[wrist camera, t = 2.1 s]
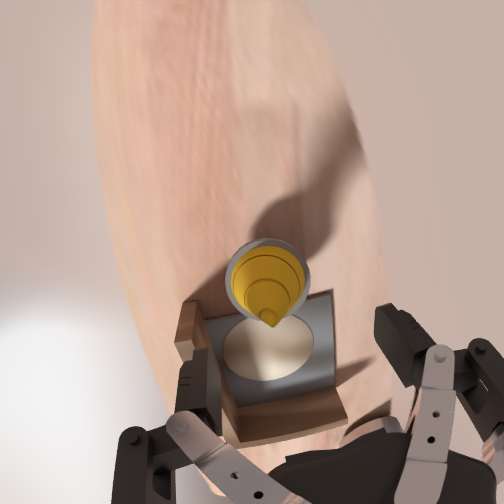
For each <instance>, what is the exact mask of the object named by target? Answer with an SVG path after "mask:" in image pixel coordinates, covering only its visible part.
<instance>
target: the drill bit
mask: <svg viewBox="0 0 504 504" xmlns="http://www.w3.org/2000/svg"><path fill="white" fill-rule="evenodd" d="M225 285H226V291H227V294H228V297H229V299H230V301H231V303H232V304H233V305H234V306H235V308H236V309H237V310H238V311H240V312H241V313H242V314H244V315H245V316H247V317H249V318H251V319H255V320H258V321H263V322H264V323H266V324H267V325H269V326H270V327H272V328H274V327H275V326H276V325H277V324H278V323H279V322H280V321H281V320H282V319H283V318H286V317H288V316H290V315H291V314H293V313H294V312H296V311H297V310H298V309H299V308H300V307H301V305H302V304H303V303H304V301H305V300H306V297H307V295H308V293H309V289H310V272H309V268H308V265H307V263H306V261H305V259H304V258H303V257H302V255H301V254H300V252H299V251H298V250H297V249H296V248H295V247H294V246H292V245H291V244H289V243H287V242H286V241H283V240H280V239H276V238H260V239H255V240H253V241H250V242H248V243H246V244H245V245H243V246H242V247H241V248H239V250H238V251H237V252H236V253H235V254H234V256H233V257H232V259H231V261H230V263H229V265H228V268H227V271H226V277H225Z"/></svg>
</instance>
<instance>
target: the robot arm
mask: <svg viewBox="0 0 504 504" xmlns="http://www.w3.org/2000/svg"><path fill="white" fill-rule="evenodd" d="M374 337H375V340H376V342H377V344H378V345H379V347H380V349H381V350H382V352H383V353H384V355H385V356H386V358H387V359H388V361H389V362H390V364H391V365H392V367H393V369H394V370H395V372H396V373H397V375H398V376H399V378H400V380H401V381H402V383H403V385H404V386H405V388H407V387H409V386H411V385H414V386H415V388H416V389H415V392H414V396H413V401H412V405H411V410H410V414H409V418H408V422H407V425H406V428H405V431H403V429H402V427H401V425H400V423H399V422H398V420H397V418H395V417H392V416H388V417H382V418H378V419H375V420H372V421H370V422H367V423H365V424H363V425H361V426H359V427H358V428H356V429H354V430H353V431H351V432H350V433H349V434H347V435H346V436H345V437H344V438H343V439H342V441H341V442H340V445H339V449H331V450H314V451H307V452H303V453H299V454H294V455H290V456H285V459H286V462H285V463H283V464H281V465H279V466H278V467H276V468H274V469H273V470H272V471H270V472H269V473H268V474H266V473H264V472H263V471H262V470H261V469H259V468H258V467H257V466H256V465H254V464H253V463H252V462H251V461H249V460H248V459H247V458H246V457H244V456H243V455H242V454H241V453H240V452H239V451H237V450H236V449H235V448H234V447H233V446H231V445H230V444H229V443H227V442H226V443H225V442H224V441H222V440H221V439H220V438H219V437H218V436H223V432H222V404H221V377H220V372H219V368H218V366H217V363H216V361H215V358H214V356H213V353H212V350H211V348H210V347H209V346H208V347H202V348H196V349H194V350H193V357H192V360H188V361H185V362H184V363H183V365H182V367H181V368H180V372H179V380H178V387H177V396H176V404H175V412H174V414H173V415H172V416H171V417H170V418H169V419H168V420H167V422H166V424H165V425H164V426H161V427H159V428H156V429H153V430H150V431H146V430H145V429H144V428H142V427H138V426H134V427H130V428H128V429H126V430H125V431H123V432H122V434H121V436H120V438H119V442H118V449H117V457H116V463H115V471H114V480H113V490H112V500H111V504H176V486H175V485H176V484H175V469H178V468H181V467H184V466H187V465H190V464H193V463H194V464H195V465H196V466H197V467H198V468H199V469H200V470H201V471H202V472H203V473H204V474H205V475H206V476H207V477H208V479H209V480H210V481H211V482H212V483H213V484H215V485H216V486H217V487H218V488H219V489H220V490H221V491H222V492H223V493H224V494H225V495H226V496H227V497H228V498H229V499H231V500H232V501H233V502H234V503H235V504H496V487H497V484H499V483H500V482H502V481H503V480H504V358H503V357H502V356H501V355H500V353H499V352H498V351H497V350H496V349H495V348H494V346H493V345H492V344H491V343H490V342H489V341H487V340H486V339H482V338H476V339H473V340H472V341H471V342H470V343H469V346H468V348H467V349H462V350H456V351H452V349H451V348H449V347H448V346H445V345H437V344H436V343H435V342H434V341H433V339H432V338H431V337H430V336H429V335H428V334H427V332H426V331H425V330H424V329H423V328H422V327H421V326H420V324H419V323H418V322H416V320H415V319H414V318H413V317H412V315H411V314H409V313H407V312H405V311H404V310H399V311H398V310H397V309H396V308H395V306H394V305H393V304H392V303H388V304H385V305H381V306H378V307H376V309H375V321H374ZM480 380H481V381H482V382H483V383H482V382H481V381H480ZM483 384H484V385H485V386H486V388H487V389H488V391H487V389H486V388H485V386H484V385H483ZM456 396H457V397H458V399H459V400H460V402H461V404H462V406H463V407H464V409H465V411H466V412H467V414H468V416H469V417H470V419H471V421H472V422H473V424H474V426H475V428H476V430H477V431H478V433H479V435H480V437H481V439H482V440H483V442H484V444H483V447H482V460H483V461H480V460H477V459H474V458H471V457H468V456H465V455H462V454H459V453H457V452H454V451H451V450H449V445H450V439H451V433H452V426H453V419H454V410H455V401H456Z"/></svg>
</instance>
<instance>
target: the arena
mask: <svg viewBox="0 0 504 504" xmlns="http://www.w3.org/2000/svg"><path fill="white" fill-rule="evenodd" d="M174 344H175V346H176V348H177V350H178V352H179V354H180V357H181V359H182V361H183V363H184V362H185V361H188V360H192V357H193V350H194V349H196V348H202V347H208V346H209V347H210V348H211V350H212V353H213V356H214V358H215V361H216V363H217V366H218V368H219V372H220V377H221V404H222V432H223V437H224V439H225V440H226V442H227V443H229V444H230V445H231V446H233V447H234V448H235V449H240V448H247V447H254V446H260V445H265V444H271V443H276V442H281V441H286V440H290V439H295V438H299V437H303V436H307V435H311V434H315V433H319V432H322V431H326V430H329V429H333V428H336V427H339V426H342V425H346V424H348V417H347V414H346V412H345V409H344V407H343V404H342V402H341V400H340V397H339V395H338V392H337V390H336V388H335V371H334V339H333V319H332V303H331V294H330V292H327V293H323V294H320V295H316V296H312V297H308V298H306V300H305V301H304V303H303V304H302V305H301V307H300V308H299V309H298V310H297V311H296V312H294V313H293V314H291V315H290V316H288V317H286V318H283V319H282V320H281V321H280V322H279V323H278V324H277V325H276V326H275V327H274V328H272V327H270V326H269V325H267V324H266V323H264V322H263V321H258V320H255V319H251V318H249V317H247V316H245V315H244V314H242V313H238V314H233V315H228V316H223V317H219V318H213V319H208V320H204V319H203V316H202V313H201V310H200V307H199V304H198V302H197V300H195V301H190V302H185V303H183V304H182V308H181V313H180V317H179V322H178V326H177V331H176V336H175V341H174Z"/></svg>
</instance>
